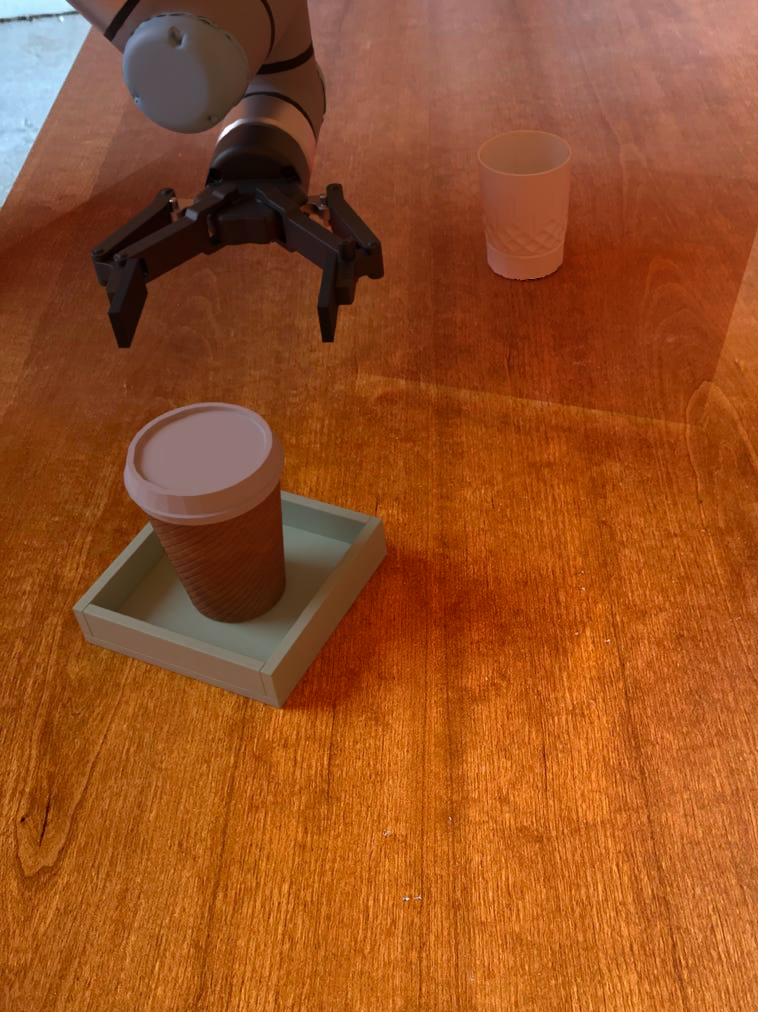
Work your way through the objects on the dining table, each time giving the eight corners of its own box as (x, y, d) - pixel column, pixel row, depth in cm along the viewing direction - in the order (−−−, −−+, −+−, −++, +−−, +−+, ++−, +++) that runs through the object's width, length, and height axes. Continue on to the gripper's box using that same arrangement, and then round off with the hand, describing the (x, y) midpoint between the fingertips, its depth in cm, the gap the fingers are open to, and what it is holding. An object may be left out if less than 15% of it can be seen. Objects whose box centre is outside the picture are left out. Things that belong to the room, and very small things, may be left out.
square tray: (86, 642, 77) (71, 607, 74) (208, 501, 85) (198, 466, 83) (280, 709, 73) (271, 675, 70) (387, 553, 81) (382, 518, 79)
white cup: (470, 278, 103) (464, 169, 96) (495, 232, 108) (492, 125, 101) (557, 290, 102) (558, 180, 94) (579, 243, 107) (582, 134, 99)
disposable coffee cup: (136, 605, 78) (83, 465, 69) (233, 520, 83) (195, 379, 74) (245, 664, 74) (204, 523, 65) (339, 571, 79) (313, 429, 70)
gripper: (426, 209, 94) (416, 370, 80) (115, 218, 94) (51, 380, 80) (419, 115, 88) (407, 271, 74) (88, 126, 89) (14, 282, 75)
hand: (221, 328), depth 77 cm, fingers open, 13 cm apart
